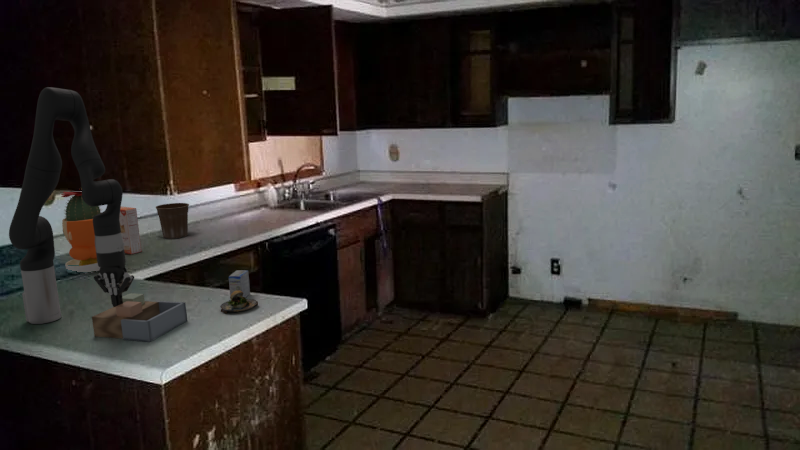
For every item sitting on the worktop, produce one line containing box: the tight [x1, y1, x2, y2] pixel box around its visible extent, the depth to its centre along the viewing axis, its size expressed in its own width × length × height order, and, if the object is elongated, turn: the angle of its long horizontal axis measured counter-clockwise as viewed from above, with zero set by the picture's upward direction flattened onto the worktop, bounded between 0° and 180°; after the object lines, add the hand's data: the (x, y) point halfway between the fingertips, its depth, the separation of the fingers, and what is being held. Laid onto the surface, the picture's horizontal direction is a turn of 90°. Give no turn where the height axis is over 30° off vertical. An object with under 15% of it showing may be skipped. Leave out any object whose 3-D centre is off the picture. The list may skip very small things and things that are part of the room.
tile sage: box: [122, 292, 146, 304], centre depth 200 cm, size 5×5×3 cm
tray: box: [121, 300, 188, 343], centre depth 195 cm, size 9×18×6 cm, turn 163°
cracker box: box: [119, 206, 143, 255], centre depth 302 cm, size 14×6×21 cm, turn 55°
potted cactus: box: [60, 191, 103, 273], centre depth 273 cm, size 22×22×35 cm
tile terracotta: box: [116, 301, 143, 317], centre depth 192 cm, size 5×5×3 cm
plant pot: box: [155, 202, 190, 240], centre depth 334 cm, size 16×16×16 cm
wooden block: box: [91, 300, 160, 339], centre depth 198 cm, size 11×16×6 cm
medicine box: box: [228, 269, 251, 299], centre depth 224 cm, size 8×4×9 cm, turn 175°
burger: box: [220, 289, 259, 315], centre depth 212 cm, size 12×12×8 cm
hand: (117, 306), depth 193 cm, fingers closed
